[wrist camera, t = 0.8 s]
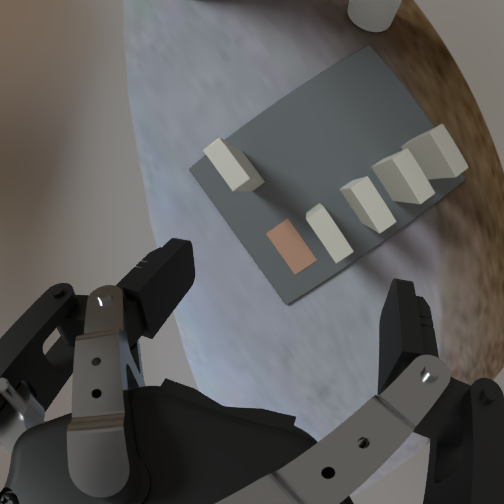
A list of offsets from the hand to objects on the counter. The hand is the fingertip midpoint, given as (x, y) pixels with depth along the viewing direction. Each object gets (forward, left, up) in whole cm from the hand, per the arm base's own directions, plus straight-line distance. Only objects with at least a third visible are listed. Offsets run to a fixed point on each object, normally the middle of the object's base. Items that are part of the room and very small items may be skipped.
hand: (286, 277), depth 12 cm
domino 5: (+2, +17, -27) cm, 32 cm away
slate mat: (-3, +7, -27) cm, 28 cm away
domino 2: (+2, +2, -27) cm, 27 cm away
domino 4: (+2, +12, -27) cm, 29 cm away
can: (-18, +26, -27) cm, 42 cm away
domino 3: (+2, +7, -27) cm, 28 cm away
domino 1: (-9, -2, -27) cm, 28 cm away
